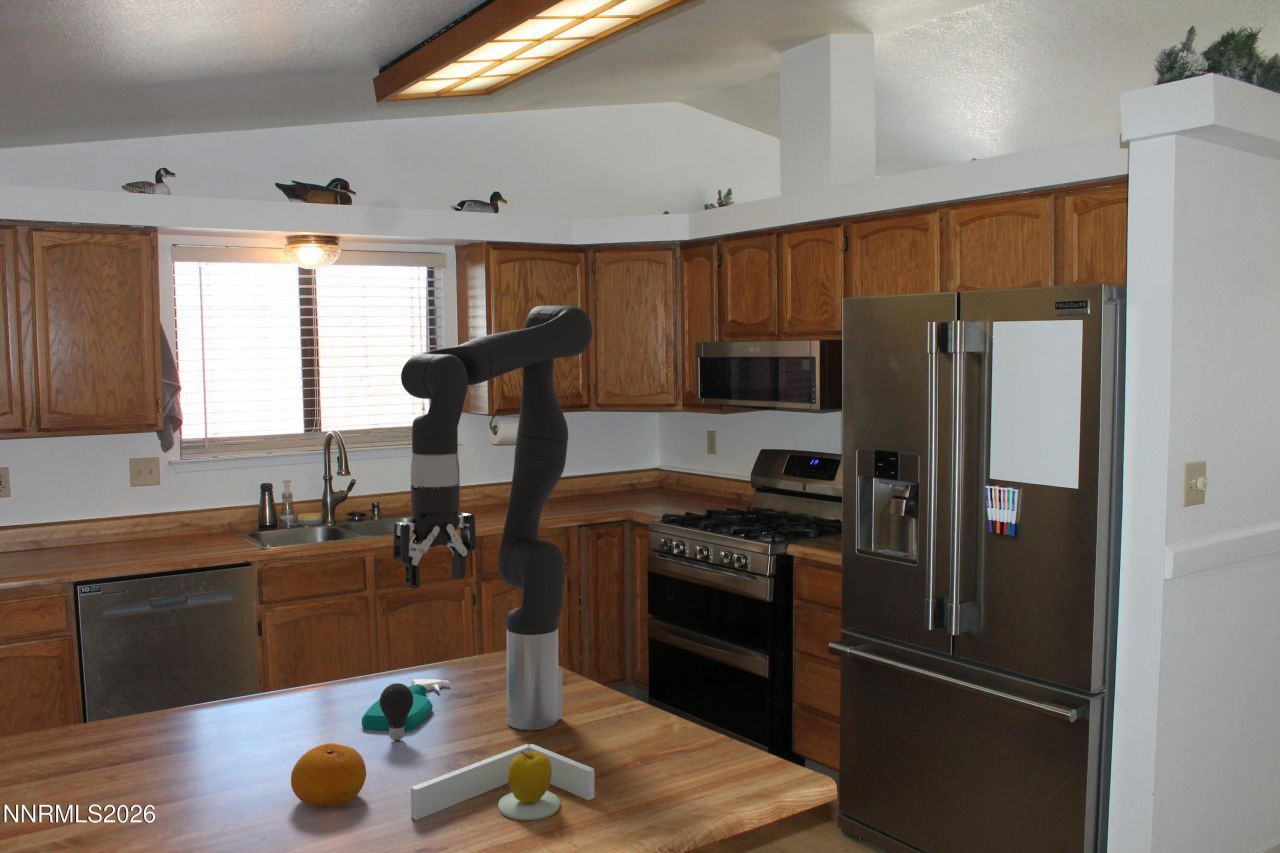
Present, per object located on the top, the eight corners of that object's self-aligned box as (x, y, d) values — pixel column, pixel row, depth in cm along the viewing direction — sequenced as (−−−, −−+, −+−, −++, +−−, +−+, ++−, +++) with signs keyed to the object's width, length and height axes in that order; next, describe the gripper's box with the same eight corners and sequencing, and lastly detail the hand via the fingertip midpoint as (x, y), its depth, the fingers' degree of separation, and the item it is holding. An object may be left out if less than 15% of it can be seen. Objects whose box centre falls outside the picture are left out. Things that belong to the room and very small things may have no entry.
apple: (500, 806, 149) (499, 753, 148) (521, 789, 155) (521, 738, 154) (538, 814, 146) (538, 760, 146) (559, 796, 152) (559, 744, 152)
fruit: (326, 823, 144) (325, 768, 144) (277, 805, 150) (276, 752, 149) (381, 796, 153) (380, 744, 153) (333, 780, 159) (332, 730, 158)
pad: (531, 787, 157) (531, 783, 156) (572, 805, 151) (572, 801, 150) (485, 806, 150) (485, 802, 150) (526, 826, 144) (526, 822, 144)
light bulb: (405, 748, 171) (404, 690, 170) (374, 745, 172) (373, 688, 171) (419, 736, 177) (418, 679, 176) (388, 733, 178) (388, 677, 177)
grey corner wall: (529, 770, 163) (529, 742, 163) (594, 797, 153) (594, 768, 153) (411, 817, 146) (410, 787, 146) (475, 852, 137) (475, 819, 136)
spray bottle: (355, 731, 179) (403, 687, 204) (416, 734, 178) (456, 690, 203) (355, 715, 179) (403, 673, 204) (415, 718, 178) (456, 675, 202)
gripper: (456, 475, 168) (457, 572, 169) (382, 483, 157) (383, 587, 158) (486, 479, 163) (486, 579, 164) (411, 488, 152) (412, 595, 153)
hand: (435, 583), depth 161 cm, fingers open, 8 cm apart
